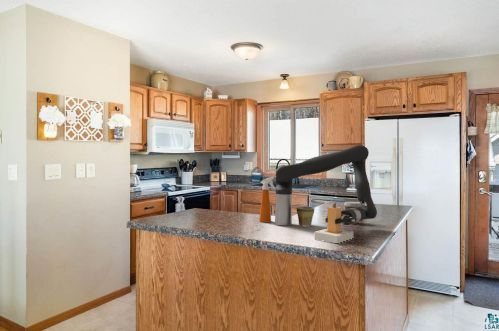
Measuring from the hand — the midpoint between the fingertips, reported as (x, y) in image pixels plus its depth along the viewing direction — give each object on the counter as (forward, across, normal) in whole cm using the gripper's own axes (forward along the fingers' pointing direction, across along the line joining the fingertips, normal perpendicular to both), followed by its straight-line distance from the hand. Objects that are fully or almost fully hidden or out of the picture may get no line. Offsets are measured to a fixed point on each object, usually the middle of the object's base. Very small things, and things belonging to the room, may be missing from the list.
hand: (331, 221), depth 160 cm
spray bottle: (-10, -49, +9) cm, 51 cm away
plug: (-3, 0, +8) cm, 8 cm away
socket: (-3, 0, +9) cm, 9 cm away
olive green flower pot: (-18, -28, +9) cm, 35 cm away
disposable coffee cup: (-43, -13, +9) cm, 46 cm away
